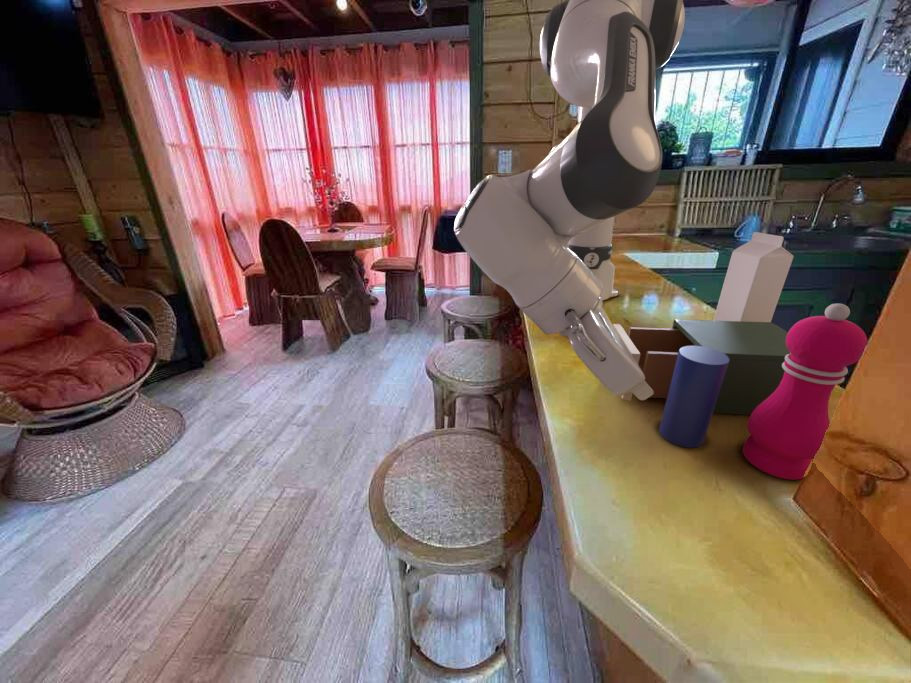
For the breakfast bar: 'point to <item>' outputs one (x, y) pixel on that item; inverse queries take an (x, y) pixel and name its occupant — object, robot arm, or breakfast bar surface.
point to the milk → (754, 280)
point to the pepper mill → (803, 394)
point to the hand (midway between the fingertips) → (634, 374)
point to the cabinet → (742, 359)
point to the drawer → (654, 354)
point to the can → (693, 395)
